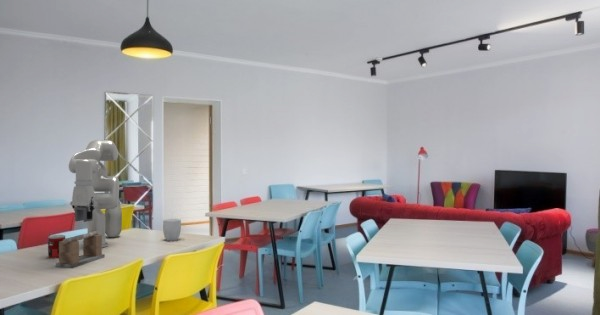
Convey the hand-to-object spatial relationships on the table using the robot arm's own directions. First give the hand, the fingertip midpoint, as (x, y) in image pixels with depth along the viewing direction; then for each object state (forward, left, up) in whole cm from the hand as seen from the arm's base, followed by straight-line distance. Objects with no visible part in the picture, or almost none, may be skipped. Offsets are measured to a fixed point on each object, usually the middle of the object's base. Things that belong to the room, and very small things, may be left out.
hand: (83, 218), depth 214 cm
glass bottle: (-27, +56, -22) cm, 66 cm away
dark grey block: (0, 0, -1) cm, 1 cm away
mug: (+14, +60, -22) cm, 65 cm away
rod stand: (-1, -1, -22) cm, 22 cm away
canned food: (-21, +4, -22) cm, 30 cm away
